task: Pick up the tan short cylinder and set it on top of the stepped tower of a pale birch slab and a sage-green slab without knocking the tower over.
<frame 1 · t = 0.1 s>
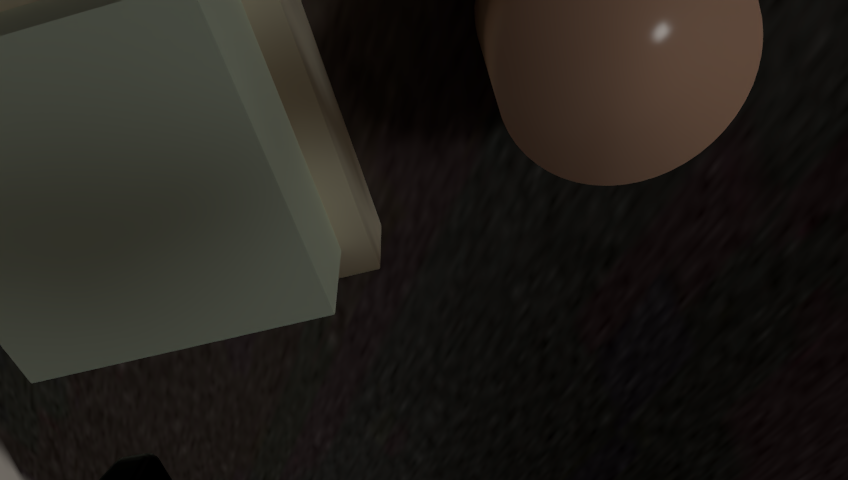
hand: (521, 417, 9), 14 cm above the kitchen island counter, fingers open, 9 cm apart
tan short cylinder: (579, 5, 20), on the kitchen island counter
top slab: (133, 158, 20), point 2 cm above the kitchen island counter, touching base slab
base slab: (160, 114, 22), on the kitchen island counter, touching top slab
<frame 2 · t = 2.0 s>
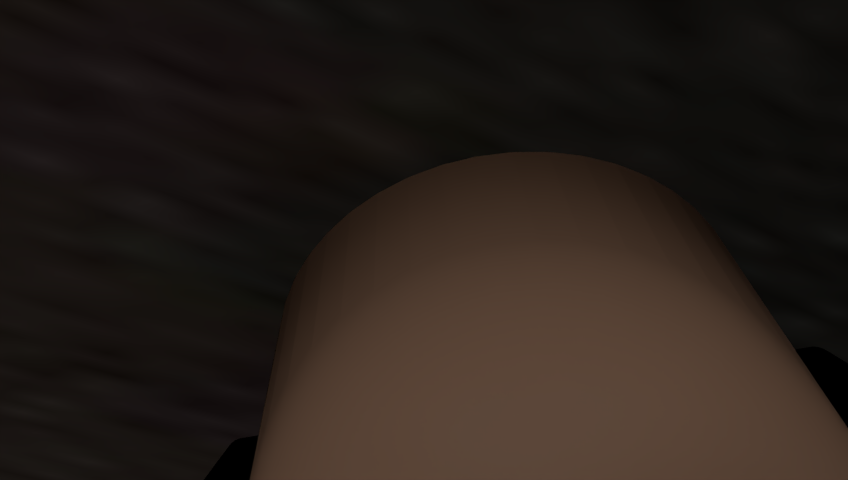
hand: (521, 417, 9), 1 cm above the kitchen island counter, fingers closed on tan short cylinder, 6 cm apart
tan short cylinder: (509, 355, 9), on the kitchen island counter, touching gripper
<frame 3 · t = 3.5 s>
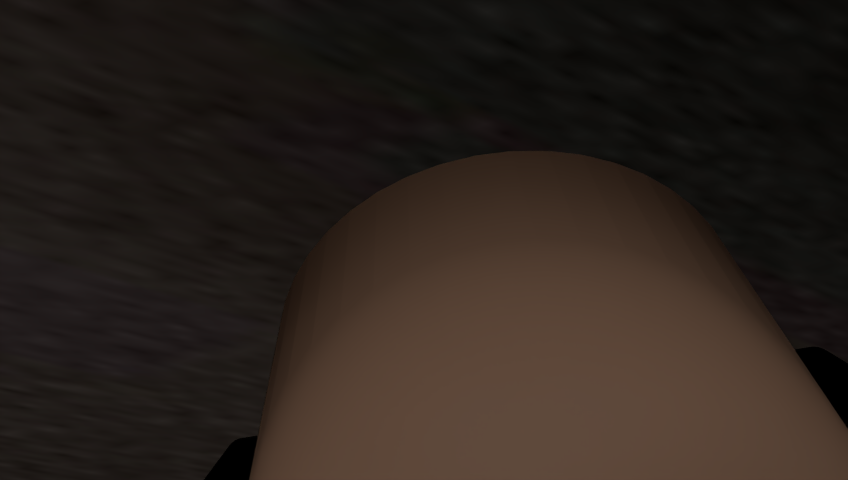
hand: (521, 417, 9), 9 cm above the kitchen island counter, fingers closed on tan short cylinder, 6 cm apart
tan short cylinder: (508, 354, 9), point 8 cm above the kitchen island counter, touching gripper
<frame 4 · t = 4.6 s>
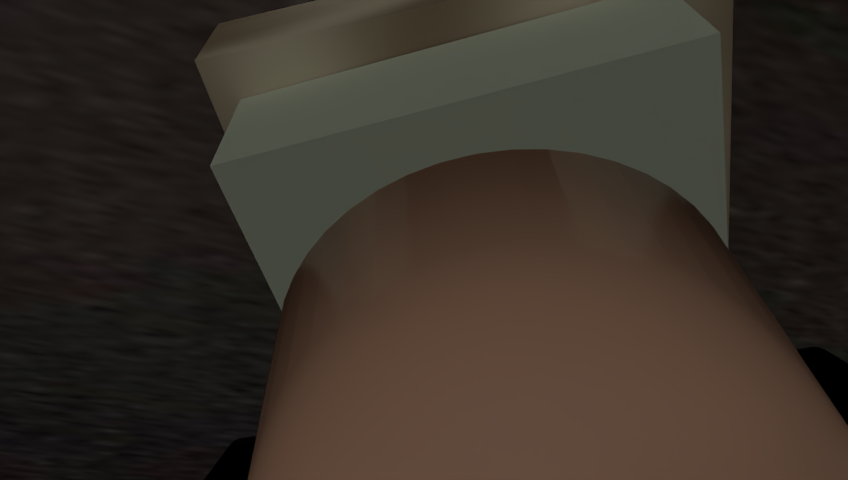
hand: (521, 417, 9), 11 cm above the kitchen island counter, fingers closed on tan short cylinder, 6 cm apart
tan short cylinder: (508, 353, 9), point 10 cm above the kitchen island counter, touching gripper
top slab: (490, 220, 17), point 2 cm above the kitchen island counter
base slab: (485, 165, 20), on the kitchen island counter
when the fingers open (8 cm above the kitchen island counter, at t = 6.0 s): tan short cylinder drops 2 cm, resting on top slab.
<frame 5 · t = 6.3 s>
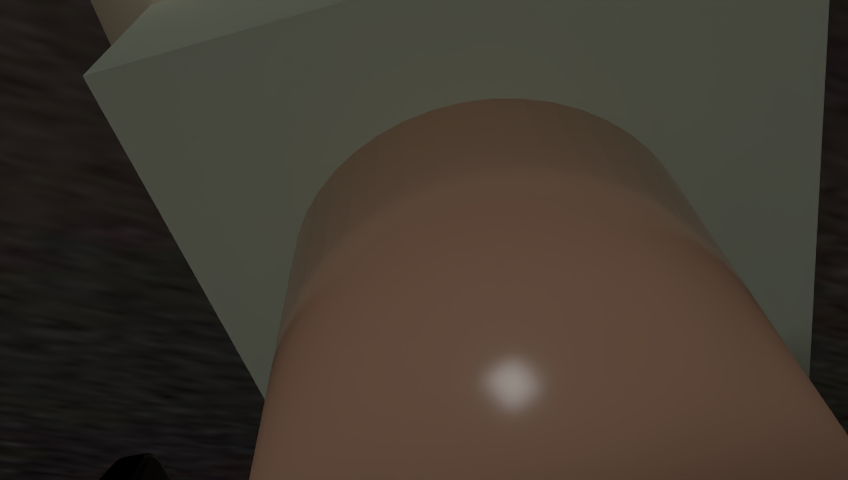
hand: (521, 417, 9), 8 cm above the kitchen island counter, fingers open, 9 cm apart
tan short cylinder: (492, 283, 11), point 5 cm above the kitchen island counter, touching top slab
top slab: (488, 176, 13), point 2 cm above the kitchen island counter, touching tan short cylinder
base slab: (467, 116, 16), on the kitchen island counter
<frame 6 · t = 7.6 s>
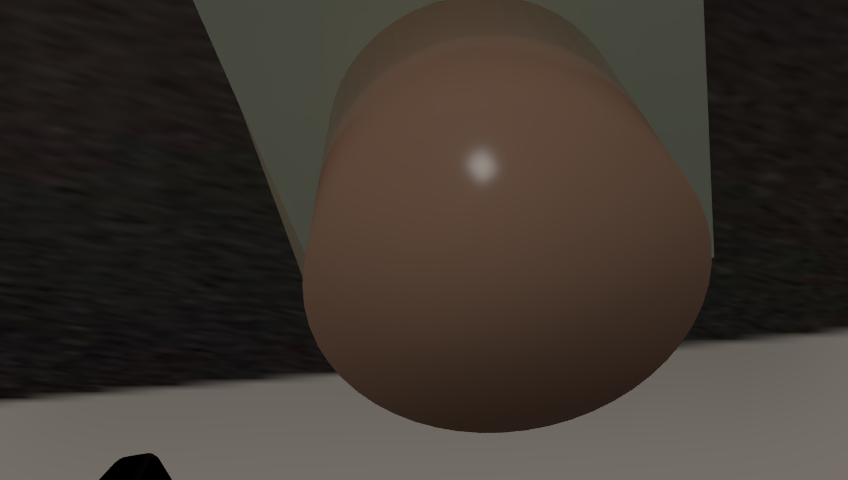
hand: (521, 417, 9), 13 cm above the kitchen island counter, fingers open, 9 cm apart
tan short cylinder: (475, 143, 15), point 5 cm above the kitchen island counter, touching top slab
top slab: (470, 80, 17), point 2 cm above the kitchen island counter, touching base slab, tan short cylinder
base slab: (459, 43, 20), on the kitchen island counter, touching top slab
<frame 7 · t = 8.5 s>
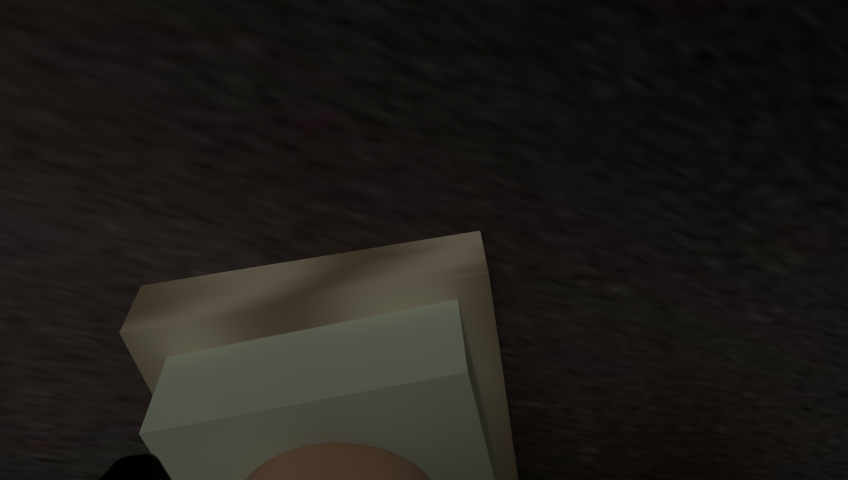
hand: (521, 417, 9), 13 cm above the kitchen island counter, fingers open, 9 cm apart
top slab: (350, 428, 24), point 2 cm above the kitchen island counter, touching base slab, tan short cylinder
base slab: (347, 367, 26), on the kitchen island counter, touching top slab
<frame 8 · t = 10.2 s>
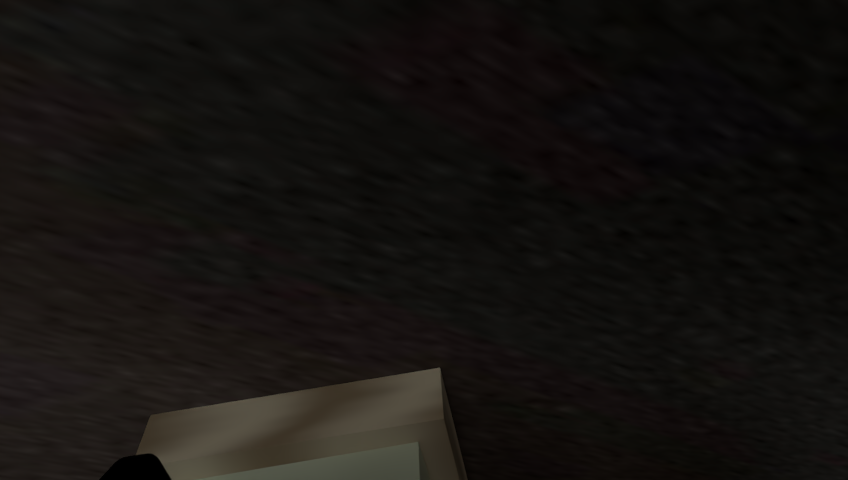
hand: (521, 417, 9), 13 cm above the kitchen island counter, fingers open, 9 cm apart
base slab: (332, 472, 30), on the kitchen island counter, touching top slab
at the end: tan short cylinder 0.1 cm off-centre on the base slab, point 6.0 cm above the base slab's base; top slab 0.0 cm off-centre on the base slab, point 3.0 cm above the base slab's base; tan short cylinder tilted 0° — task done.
